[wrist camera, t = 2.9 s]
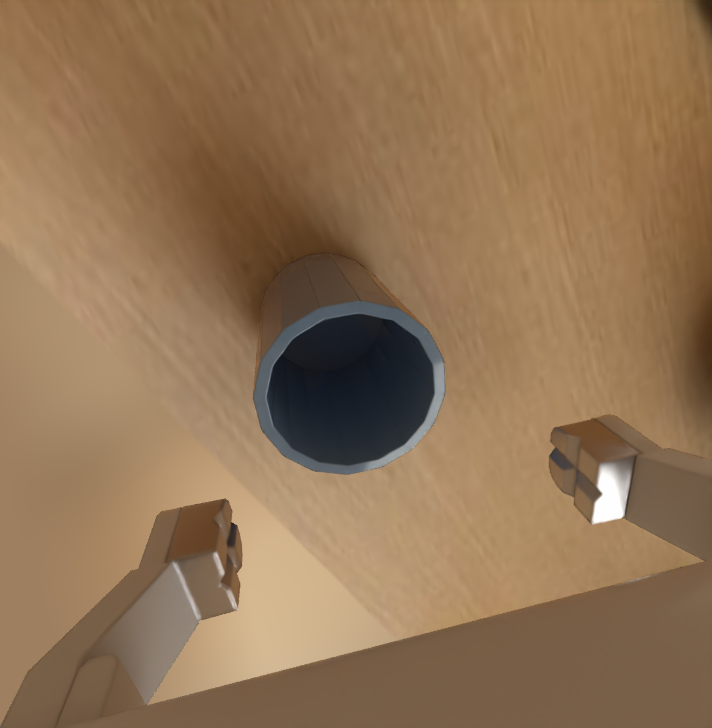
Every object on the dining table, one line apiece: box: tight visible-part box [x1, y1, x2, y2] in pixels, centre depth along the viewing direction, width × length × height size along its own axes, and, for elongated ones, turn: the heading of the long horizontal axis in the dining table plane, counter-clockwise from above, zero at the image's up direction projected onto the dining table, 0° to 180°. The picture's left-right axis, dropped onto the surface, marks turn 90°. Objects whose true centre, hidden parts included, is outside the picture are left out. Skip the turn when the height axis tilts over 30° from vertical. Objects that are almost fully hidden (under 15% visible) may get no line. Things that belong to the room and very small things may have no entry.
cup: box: [253, 253, 446, 475], centre depth 19 cm, size 7×7×9 cm
